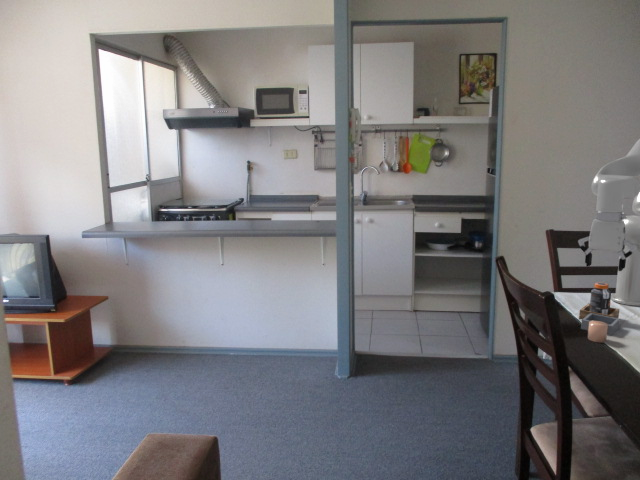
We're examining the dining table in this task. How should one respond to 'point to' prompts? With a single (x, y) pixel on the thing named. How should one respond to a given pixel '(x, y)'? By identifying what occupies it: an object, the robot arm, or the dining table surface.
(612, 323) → the gray square open tray
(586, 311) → the brown wooden open tray
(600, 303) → the pill bottle
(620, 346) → the dining table surface
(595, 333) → the peach rounded capsule
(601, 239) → the robot arm
